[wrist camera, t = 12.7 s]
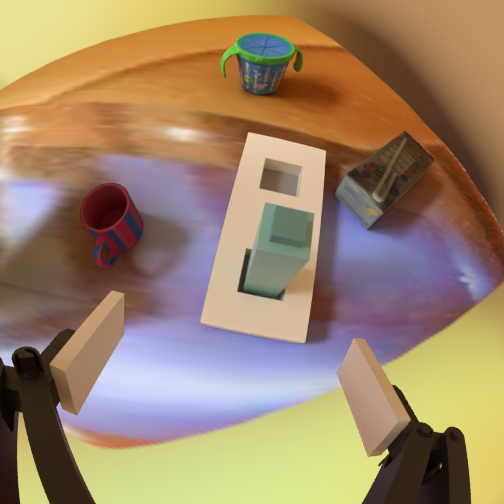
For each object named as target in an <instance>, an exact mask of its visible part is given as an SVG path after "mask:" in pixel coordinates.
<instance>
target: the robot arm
mask: <svg viewBox="0 0 504 504" xmlns="http://www.w3.org/2000/svg"><path fill="white" fill-rule="evenodd" d="M123 335H124V293H120V292H116V291H113V290H112V291H111V292H110V293H109V294H108V295H107V297H106V298H105V299H104V300H103V301H102V302H101V303H100V304H99V305H98V307H97V308H96V309H95V310H94V311H93V312H92V313H91V315H90V316H89V317H88V318H87V319H86V320H85V321H84V323H83V324H82V325H81V326H80V327H79V329H78V330H77V331H74V330H71V329H69V328H68V329H66V330H64V331H62V332H60V333H59V334H58V335H57V336H56V337H55V338H54V340H53V341H52V342H51V343H50V345H48V346H47V347H46V349H45V350H44V351H43V352H42V353H41V354H40V353H39V351H37V350H36V349H35V348H32V347H21V348H19V349H17V350H15V352H14V353H13V354H12V361H13V364H14V367H10V366H6V365H4V364H3V361H2V359H1V358H0V504H20V498H19V488H18V472H17V432H18V416H19V412H22V413H23V418H24V423H25V427H26V431H27V436H28V440H29V444H30V447H31V451H32V454H33V458H34V461H35V464H36V468H37V471H38V474H39V477H40V479H41V482H42V485H43V487H44V490H45V493H46V495H47V498H48V500H49V503H50V504H96V503H95V502H94V500H93V498H92V496H91V494H90V492H89V490H88V488H87V486H86V484H85V482H84V480H83V477H82V475H81V473H80V471H79V469H78V466H77V464H76V462H75V459H74V457H73V454H72V452H71V449H70V447H69V444H68V441H67V439H66V436H65V433H64V430H63V427H62V424H61V421H60V418H59V415H58V411H57V408H56V406H57V405H58V403H59V401H60V403H61V406H62V409H64V410H66V411H68V412H70V413H73V414H75V415H78V413H79V411H80V409H81V407H82V405H83V403H84V402H85V400H86V398H87V396H88V394H89V393H90V391H91V389H92V387H93V385H94V384H95V382H96V380H97V378H98V377H99V375H100V373H101V372H102V370H103V368H104V366H105V365H106V363H107V361H108V360H109V358H110V356H111V355H112V353H113V351H114V350H115V348H116V346H117V345H118V343H119V341H120V340H121V338H122V336H123ZM337 375H338V377H339V380H340V382H341V385H342V388H343V390H344V393H345V395H346V398H347V401H348V403H349V406H350V409H351V411H352V413H353V416H354V419H355V422H356V425H357V427H358V430H359V433H360V436H361V438H362V441H363V444H364V447H365V450H366V452H367V455H368V457H370V456H378V455H381V454H382V453H383V452H384V451H385V450H386V449H387V448H388V451H389V454H388V455H387V456H386V457H385V458H384V459H383V460H382V461H381V462H380V463H379V465H378V466H380V465H381V464H383V465H382V466H381V469H380V471H379V473H378V475H377V477H376V479H375V481H374V482H373V484H372V486H371V488H370V490H369V492H368V494H367V495H366V497H365V499H364V501H363V502H362V504H471V493H470V478H469V468H468V459H467V452H466V445H465V439H464V435H463V433H462V432H461V431H460V430H459V429H458V428H455V427H449V428H447V429H446V431H445V432H444V433H438V432H434V431H433V429H432V428H431V427H430V426H429V425H427V424H426V423H422V422H419V421H418V419H417V418H416V416H415V415H414V412H413V410H412V409H411V407H410V405H408V402H407V400H406V399H405V396H404V395H403V393H402V392H401V390H400V389H399V388H398V387H397V386H395V385H391V383H390V381H389V380H388V378H387V376H386V374H385V373H384V371H383V369H382V367H381V366H380V364H379V362H378V361H377V359H376V357H375V355H374V354H373V352H372V350H371V349H370V347H369V345H368V344H367V342H366V340H365V339H358V338H354V339H353V341H352V343H351V346H350V348H349V350H348V352H347V354H346V356H345V358H344V360H343V362H342V364H341V366H340V368H339V370H338V372H337ZM441 464H442V467H441V468H440V465H441Z"/></svg>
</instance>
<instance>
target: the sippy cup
mask: <svg viewBox="0 0 504 504" xmlns="http://www.w3.org/2000/svg"><path fill="white" fill-rule="evenodd" d="M295 51H297V56H296V60H295V62H294V66H293V68H294V70H295V71H297V72H299V71H300V70H301V68H302V64H303V56H302V53H301V51H300V50H299V49H298V48H297V47H296V46H295V45H294V44H292V43H291V42H290V41H288V40H287V39H285V38H283V37H280V36H278V35H274V34H269V33H250V34H246V35H243V36H241V37H239V38H238V39H237V40H236V43H235V45H233V46H232V47H230V48H229V49H228V50H227V51H226V52H225V53H224V55H223V57H222V59H221V63H220V68H221V72H222V75H223V76H224V78H226V74H225V62H226V60H228V59H229V58H230V57H231V56H232V55H234V54H236V55H237V59H238V63H239V74H240V82H241V86H242V87H244V88H245V89H246V90H247V91H249V92H252V93H254V94H257V95H258V94H268V93H273V92H275V91H276V90H277V89H278V87H279V85H280V83H281V81H282V78H283V76H284V73H285V71H286V69H287V66H288V63H289V61H290V60H291V59H292V58H293V56H294V53H295Z"/></svg>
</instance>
